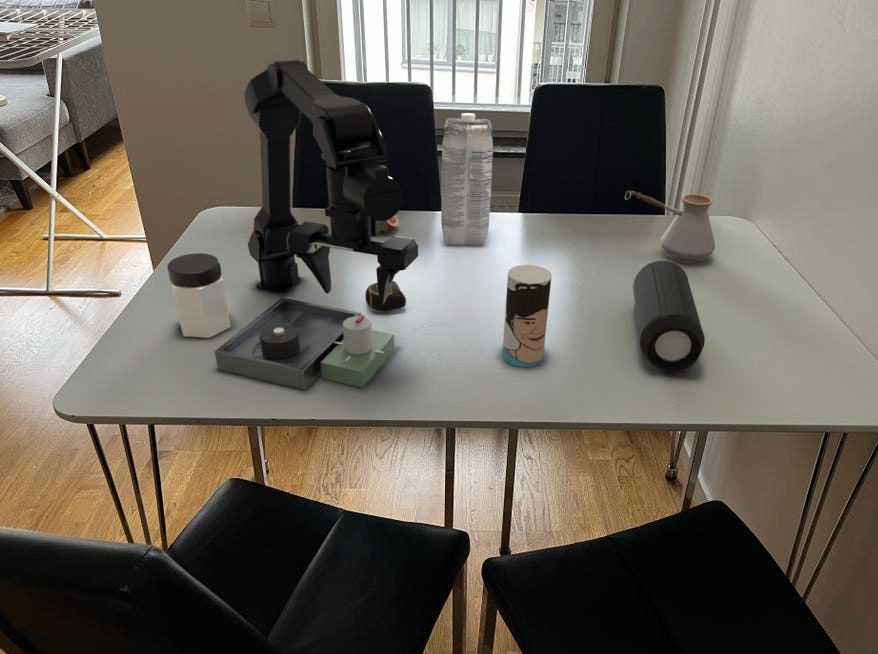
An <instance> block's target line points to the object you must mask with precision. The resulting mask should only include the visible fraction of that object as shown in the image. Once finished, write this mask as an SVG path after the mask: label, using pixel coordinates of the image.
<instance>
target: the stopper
mask: <svg viewBox="0 0 878 654" xmlns="http://www.w3.org/2000/svg"><path fill="white" fill-rule="evenodd" d="M260 342H261V349H262V353H263V355H264V356H265V357H267V358H271V359H286V358H290V357H292V356H294V355H296V354H297V353H298V352H299V351H300V340H299V332H298V329H297V328H296V327H294V326H292V325H288V324H277V325H272V326H269V327H266V328H265V329H263V330H262V331H261V332H260Z"/></svg>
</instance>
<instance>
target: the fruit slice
mask: <svg viewBox="0 0 878 654" xmlns="http://www.w3.org/2000/svg"><path fill="white" fill-rule="evenodd" d="M399 223H400V222H399V219H398V217H397V214H396V215H395V216H393V217H392V218H391V219H388V222H387V231H386V232H389V231H392V230H394V229H396V228H397V227H398V226H399ZM380 232H384V231H383V230H380Z"/></svg>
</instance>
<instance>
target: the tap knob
mask: <svg viewBox="0 0 878 654" xmlns="http://www.w3.org/2000/svg"><path fill="white" fill-rule="evenodd" d="M372 330H373V329H372V321H371V319H370V318H368V317H366V316H365V314H362V315H361V316H354V317H350V318H347V319H346V320H344V322H343V335H344V348H345V351H346V352H348V353H350V354H354V355H361V354H365V353H368V352H369V351H371V350H372Z"/></svg>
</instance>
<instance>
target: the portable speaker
mask: <svg viewBox="0 0 878 654" xmlns="http://www.w3.org/2000/svg"><path fill="white" fill-rule="evenodd" d="M632 293H633V298H634V299H633V300H634V307H635V317H636V323H637V324H636V325H637V331H638V332H637V333H638V340H639V346H640V350H641V352H642V355H643V356H644V357H645V359H646V360H647V362H649V363H650V364H652V365H653V366H654V368H657V369H658V370H661V371H664V372H668V373H675V372H682V371H684V370H687V369H688V368H690V367H691V366H693V365H694V364H695V363H697V361H698V360H699V358H700V356H701V354H702V352H703V350H704V347H705V343H706V342H705V341H706V340H705V338H706V337H705V333H704V331H703V327H702V324H701V321H700V316H699V312H698V309H697V306H696V303H695V299H694V297H693V296H694V295H693V292H692V289H691V285H690V282H689V277H688V275H687V272H686V271H685V270H684V268H682V267H681V266H680V265H678V264H677V263H674V262H672V261H669V260H667V259H658V260H653V261H650V262H649V263H647V264H646V265H644V266H643V267H642V268H641V269H640V270H639V271H638V273H636V276H635V278H634V280H633V283H632Z"/></svg>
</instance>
